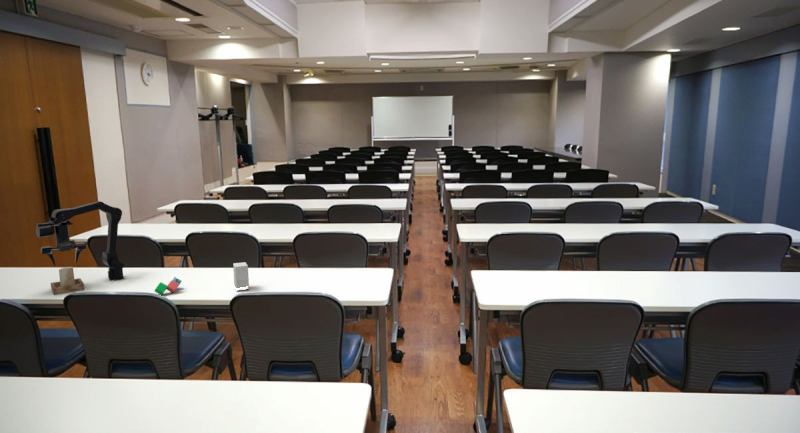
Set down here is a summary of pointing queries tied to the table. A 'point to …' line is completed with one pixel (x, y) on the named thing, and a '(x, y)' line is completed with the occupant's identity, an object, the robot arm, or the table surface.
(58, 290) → the brown square frame
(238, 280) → the small box
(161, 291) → the building blocks
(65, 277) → the box
